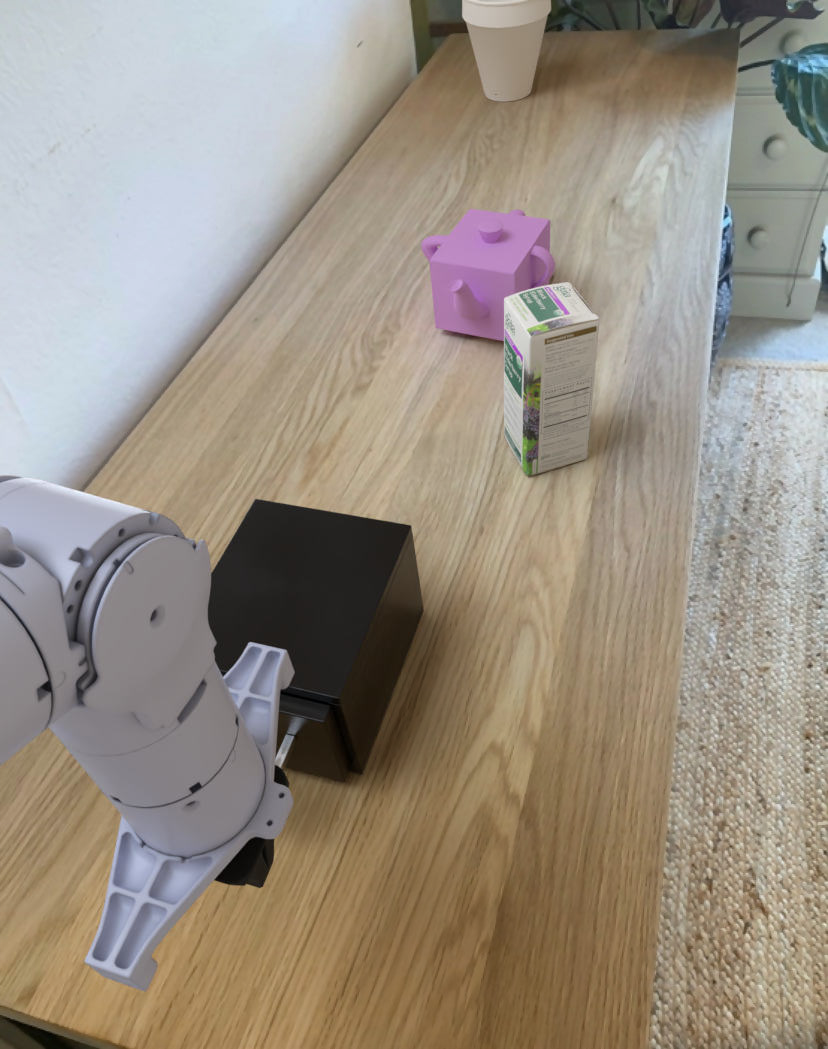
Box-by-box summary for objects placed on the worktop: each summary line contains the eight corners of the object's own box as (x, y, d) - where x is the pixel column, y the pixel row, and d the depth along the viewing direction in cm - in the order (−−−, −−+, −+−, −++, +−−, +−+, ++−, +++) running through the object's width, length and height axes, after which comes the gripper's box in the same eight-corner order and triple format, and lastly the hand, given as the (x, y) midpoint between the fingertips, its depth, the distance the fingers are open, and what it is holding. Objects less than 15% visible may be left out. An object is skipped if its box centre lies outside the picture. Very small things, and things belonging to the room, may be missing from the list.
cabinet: (362, 775, 56) (339, 698, 48) (205, 734, 59) (161, 657, 52) (424, 610, 64) (411, 524, 57) (283, 582, 67) (255, 498, 60)
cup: (543, 109, 121) (545, 1, 111) (458, 109, 123) (452, 4, 113) (554, 74, 128) (557, -30, 118) (474, 75, 131) (470, -27, 121)
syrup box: (501, 437, 76) (498, 295, 65) (563, 419, 77) (570, 276, 66) (526, 479, 72) (527, 336, 61) (591, 459, 73) (602, 315, 62)
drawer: (321, 847, 52) (295, 790, 46) (171, 804, 55) (129, 745, 49) (406, 626, 62) (393, 557, 56) (276, 599, 65) (252, 531, 59)
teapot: (518, 383, 81) (518, 290, 73) (387, 356, 85) (374, 266, 78) (577, 281, 91) (582, 191, 84) (457, 262, 96) (452, 175, 88)
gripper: (164, 969, 27) (262, 1059, 37) (331, 604, 36) (373, 757, 46) (-20, 905, 29) (121, 1007, 39) (183, 574, 38) (255, 727, 48)
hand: (249, 869), depth 42 cm, fingers closed
